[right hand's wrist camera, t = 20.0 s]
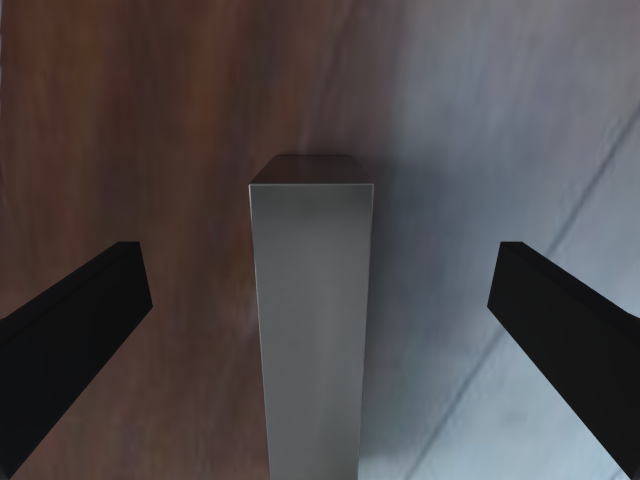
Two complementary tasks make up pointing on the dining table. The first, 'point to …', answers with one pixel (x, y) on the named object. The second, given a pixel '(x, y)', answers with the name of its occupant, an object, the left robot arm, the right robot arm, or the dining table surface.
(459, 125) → the dining table surface
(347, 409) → the bar
